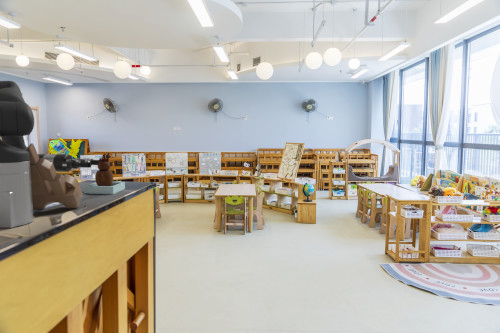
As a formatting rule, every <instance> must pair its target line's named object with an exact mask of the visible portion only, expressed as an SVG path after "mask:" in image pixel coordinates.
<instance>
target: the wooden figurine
mask: <svg viewBox="0 0 500 333" xmlns="http://www.w3.org/2000/svg"><path fill="white" fill-rule="evenodd" d="M98 160H99V163H98V165H97V169H98V170H97V171H96V172H95V177H94V178H95V182H96V183H97V185H98V186H111V185H112V183H113V182H114V173H113V171H112V170H110V169H111V162H110V153H109V151H108V152H107V154H106V153H103V155H101V157H99V159H98Z"/></svg>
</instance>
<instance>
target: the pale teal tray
mask: <svg viewBox="0 0 500 333" xmlns="http://www.w3.org/2000/svg"><path fill="white" fill-rule="evenodd" d="M125 189H126V182H125V181H113V183H112V185H111V186H98V185H97V183H96V181H95V182H93V183H89V184H87V185H84V186H83V194H84V193H89V194H90V195H101V194H102V195H115V194H117V193H119V192H121V191H123V190H125ZM89 194H88V195H89Z"/></svg>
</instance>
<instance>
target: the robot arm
mask: <svg viewBox="0 0 500 333" xmlns="http://www.w3.org/2000/svg"><path fill="white" fill-rule="evenodd" d="M22 94H23V93H22V92H21V88H20V86H19V85H18V84H17V83H16V82H15V81H13V80H0V228H5V229H7V228H8V229H9V228H11V229H12V228H15V227H20V226H24V225H28V224H30V223H32V222H33V221H34V209H33V204H32V187H31V170H30V155H29V152H28V151H27V150H25V149H26V148H27V147H28V146H27V145H26V144H25V139H24V137H26V136H28V135H30V134H32V132H33V130H34V128H35V117H34V116H35V115H34V113H33V110H32V108H31V106H30V105H29V104H28V103H26V101H25V99H24V98H23V96H22ZM37 154H38V156H39V159H40V158H44V159H46V160H48V161H50V162H52V163H53V165H54V168H55V170H56V173H59V172H60V173H64V172H65V173H69V172H71V171H72V169H82V168H87V169H88V168H92V166H98V163H99V159H94V158H78V157H76V158H73V156H72V155H71V154H69V153H47V154H46V153H37Z"/></svg>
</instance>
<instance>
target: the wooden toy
mask: <svg viewBox="0 0 500 333" xmlns="http://www.w3.org/2000/svg"><path fill="white" fill-rule="evenodd" d="M26 147H27V148H26V149H25V150H27V151H28V152H29V155H30V170H31V187H32V204H33V210H45V209H46V208H47V205H48V204H51V203H58V204H61V205H63V206H64V207H65V208H66V209H79V208H80V207H79V206H80V205H81V202H82V197H83V193H82V189H81V185H80V183H79V181H78V180H77V178H75V177H74V176H72V175H70V174H62V173H58V172H56V170H55V168H54V165H53V163H52V162H50V161H48V160H46V159H44V158H40V159H39V156H38V154H39V153H38V151H37V149H36V147H35V145H34V143H30V144H29V145H28V146H26ZM57 173H58V174H57Z"/></svg>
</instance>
